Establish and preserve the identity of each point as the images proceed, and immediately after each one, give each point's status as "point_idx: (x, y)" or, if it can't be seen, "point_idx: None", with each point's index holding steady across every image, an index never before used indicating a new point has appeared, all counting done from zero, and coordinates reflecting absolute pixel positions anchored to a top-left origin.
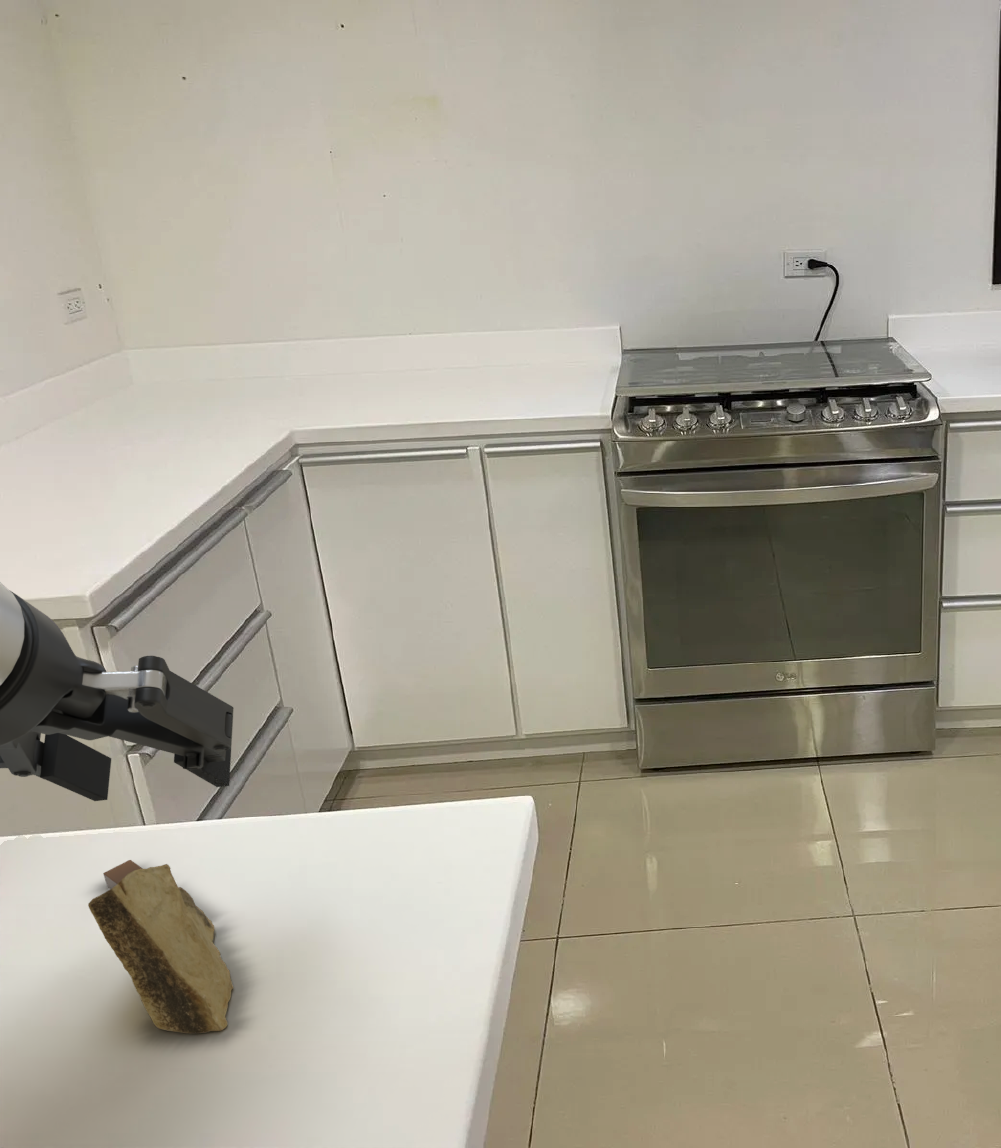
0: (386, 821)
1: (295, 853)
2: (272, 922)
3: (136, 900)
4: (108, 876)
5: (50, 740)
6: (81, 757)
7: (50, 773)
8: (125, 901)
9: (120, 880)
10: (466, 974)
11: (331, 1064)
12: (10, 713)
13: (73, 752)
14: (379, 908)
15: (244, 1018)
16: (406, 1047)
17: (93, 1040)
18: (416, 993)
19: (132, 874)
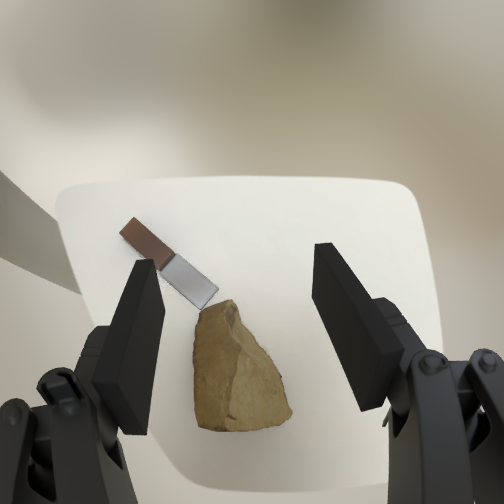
0: (321, 178)
1: (262, 209)
2: (279, 297)
3: (243, 416)
4: (124, 237)
5: (109, 394)
6: (142, 334)
7: (139, 433)
8: (237, 426)
9: (136, 244)
10: None
11: (373, 439)
12: None
13: (137, 354)
14: None
15: (301, 404)
16: None
17: (195, 416)
18: None
19: (233, 399)
